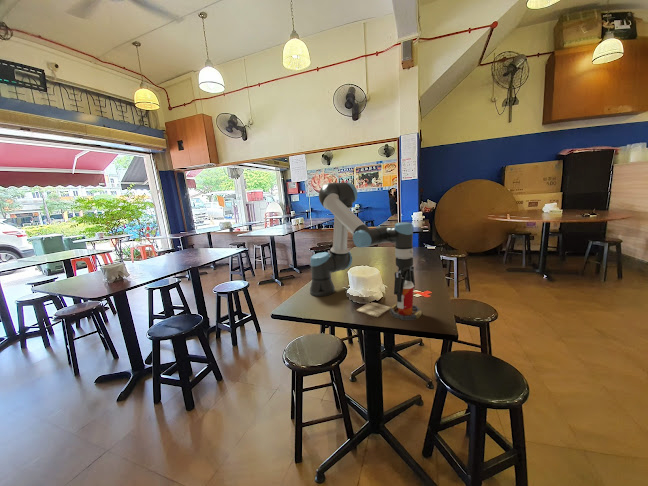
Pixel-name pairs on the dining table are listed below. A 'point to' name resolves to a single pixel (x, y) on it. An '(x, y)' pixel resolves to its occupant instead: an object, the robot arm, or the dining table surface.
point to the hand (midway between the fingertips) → (405, 304)
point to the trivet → (373, 309)
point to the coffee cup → (407, 298)
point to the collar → (405, 317)
